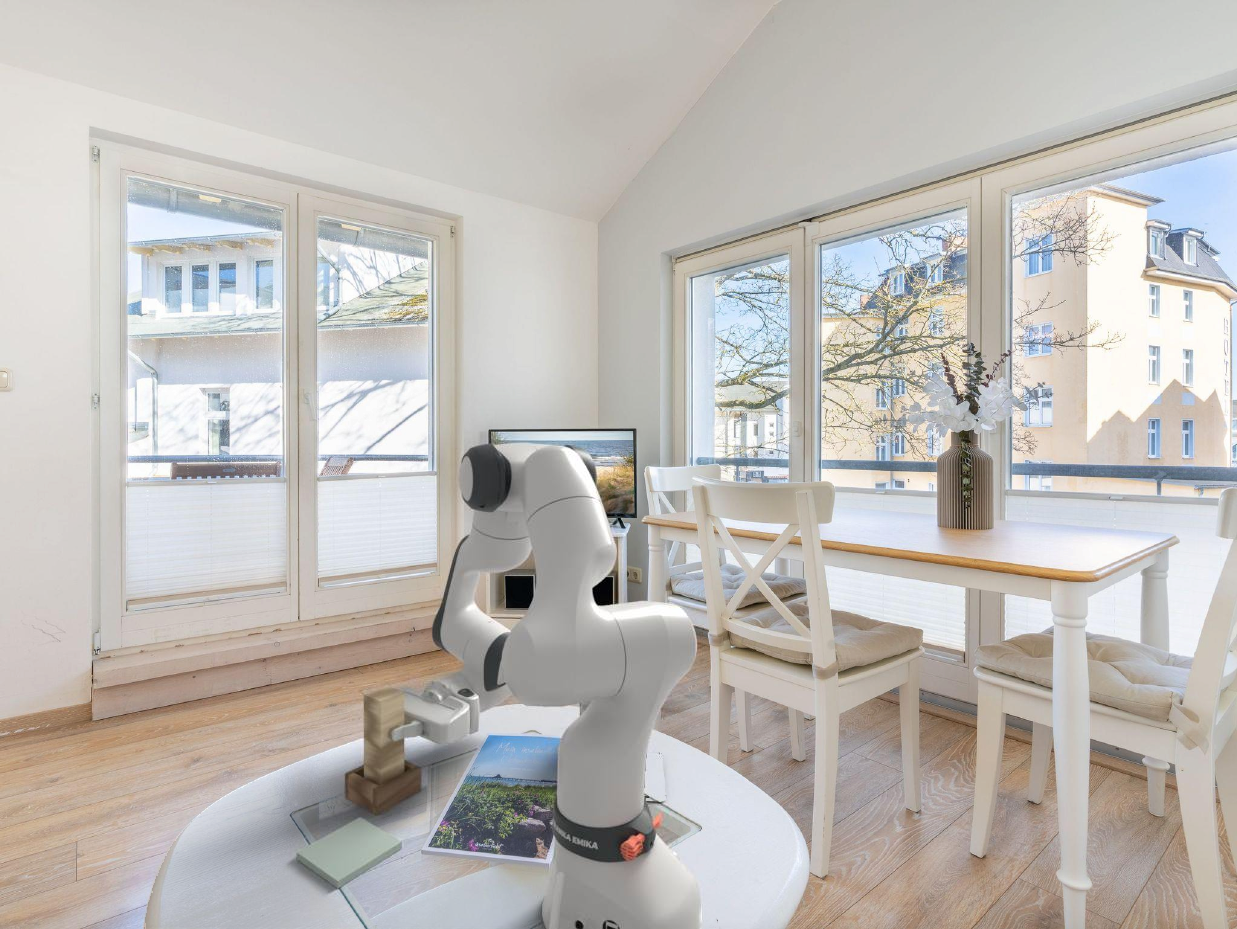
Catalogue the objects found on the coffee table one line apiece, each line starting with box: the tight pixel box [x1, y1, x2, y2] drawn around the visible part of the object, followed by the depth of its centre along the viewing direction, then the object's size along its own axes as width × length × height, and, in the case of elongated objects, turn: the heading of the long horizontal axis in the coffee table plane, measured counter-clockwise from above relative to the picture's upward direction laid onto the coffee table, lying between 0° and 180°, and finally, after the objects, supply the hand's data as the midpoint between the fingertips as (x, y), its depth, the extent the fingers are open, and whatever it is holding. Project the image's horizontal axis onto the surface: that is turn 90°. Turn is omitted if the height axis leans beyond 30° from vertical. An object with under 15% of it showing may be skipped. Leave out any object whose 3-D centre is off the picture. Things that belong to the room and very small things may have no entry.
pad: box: [296, 816, 403, 889], centre depth 91 cm, size 10×10×1 cm
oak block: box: [363, 685, 405, 786], centre depth 105 cm, size 4×4×14 cm
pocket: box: [344, 759, 422, 816], centre depth 106 cm, size 8×8×4 cm
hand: (379, 730), depth 104 cm, fingers closed on oak block, 4 cm apart
